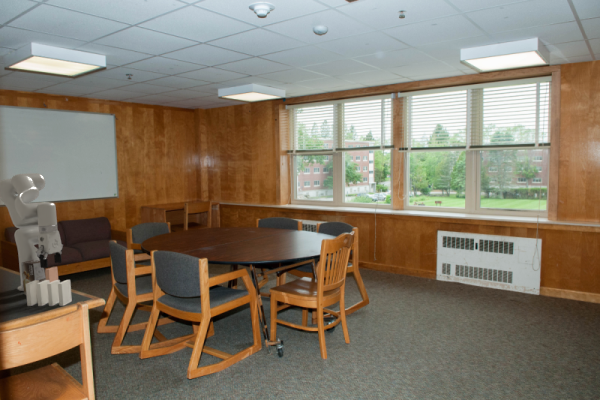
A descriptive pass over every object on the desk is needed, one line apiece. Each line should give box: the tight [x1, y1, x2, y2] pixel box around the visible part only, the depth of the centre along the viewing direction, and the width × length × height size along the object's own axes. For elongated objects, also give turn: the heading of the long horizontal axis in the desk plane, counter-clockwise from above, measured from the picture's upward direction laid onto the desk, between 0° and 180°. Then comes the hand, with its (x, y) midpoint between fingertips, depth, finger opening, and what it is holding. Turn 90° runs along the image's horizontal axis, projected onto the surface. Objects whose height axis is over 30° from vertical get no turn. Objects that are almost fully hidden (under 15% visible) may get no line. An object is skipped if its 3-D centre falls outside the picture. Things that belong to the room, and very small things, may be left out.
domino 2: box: [36, 280, 50, 307], centre depth 186 cm, size 2×6×10 cm, turn 176°
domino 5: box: [58, 279, 73, 307], centre depth 185 cm, size 2×6×10 cm, turn 176°
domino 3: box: [45, 266, 59, 282], centre depth 195 cm, size 2×6×10 cm, turn 176°
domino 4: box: [47, 279, 61, 307], centre depth 186 cm, size 2×6×10 cm, turn 176°
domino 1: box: [26, 280, 39, 307], centre depth 186 cm, size 2×6×10 cm, turn 176°
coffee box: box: [21, 260, 47, 296], centre depth 201 cm, size 9×6×16 cm
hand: (51, 265), depth 194 cm, fingers open, 9 cm apart
